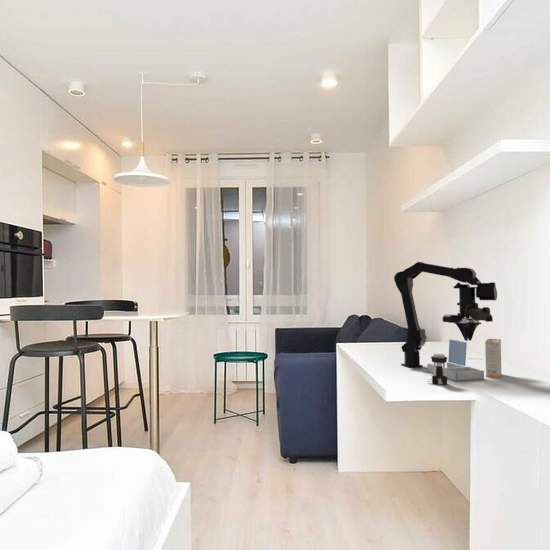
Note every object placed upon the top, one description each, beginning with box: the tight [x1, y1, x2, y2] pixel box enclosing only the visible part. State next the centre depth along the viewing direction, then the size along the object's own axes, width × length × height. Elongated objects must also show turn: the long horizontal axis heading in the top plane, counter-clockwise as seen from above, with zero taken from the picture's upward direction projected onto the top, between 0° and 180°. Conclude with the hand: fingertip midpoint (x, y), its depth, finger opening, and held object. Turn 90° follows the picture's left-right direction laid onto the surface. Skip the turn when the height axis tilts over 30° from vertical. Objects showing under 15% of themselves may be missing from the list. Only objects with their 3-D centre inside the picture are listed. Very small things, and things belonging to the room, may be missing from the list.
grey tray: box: [426, 362, 485, 382], centre depth 170 cm, size 19×12×3 cm, turn 15°
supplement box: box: [484, 338, 502, 379], centre depth 169 cm, size 8×5×13 cm, turn 149°
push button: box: [426, 353, 448, 385], centre depth 156 cm, size 7×5×10 cm
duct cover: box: [447, 339, 468, 367], centre depth 175 cm, size 9×9×1 cm
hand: (468, 340), depth 177 cm, fingers closed
